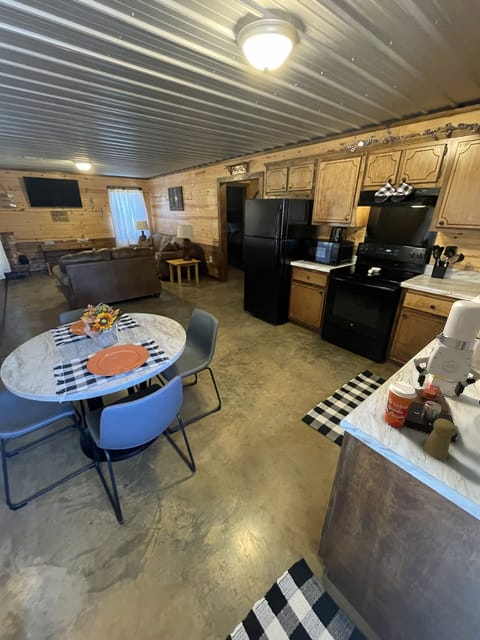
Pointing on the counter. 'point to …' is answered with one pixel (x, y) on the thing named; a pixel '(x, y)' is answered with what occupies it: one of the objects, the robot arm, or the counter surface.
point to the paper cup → (399, 403)
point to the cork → (440, 439)
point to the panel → (424, 421)
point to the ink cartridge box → (442, 385)
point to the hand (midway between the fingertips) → (438, 389)
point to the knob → (431, 411)
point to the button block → (437, 399)
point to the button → (429, 393)
